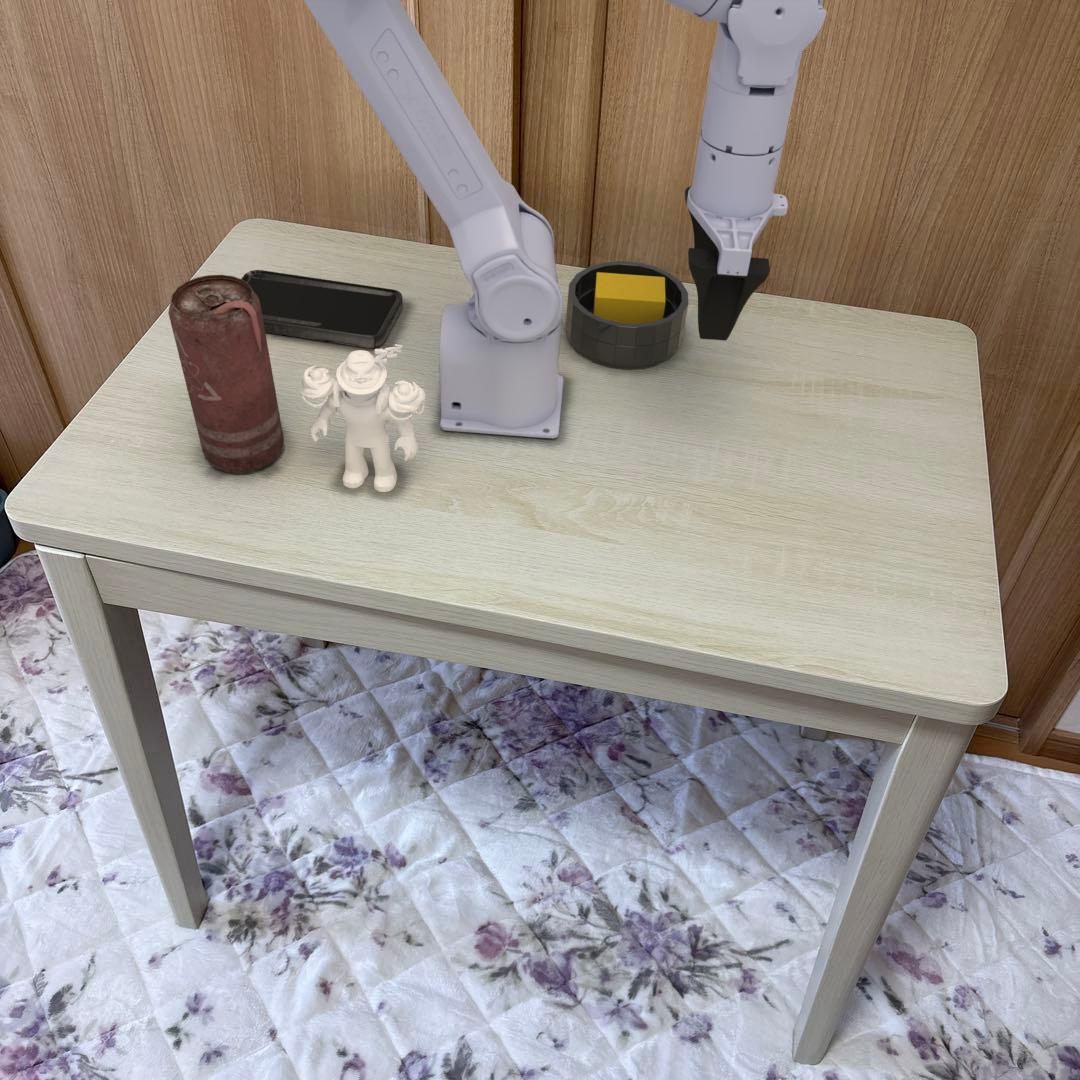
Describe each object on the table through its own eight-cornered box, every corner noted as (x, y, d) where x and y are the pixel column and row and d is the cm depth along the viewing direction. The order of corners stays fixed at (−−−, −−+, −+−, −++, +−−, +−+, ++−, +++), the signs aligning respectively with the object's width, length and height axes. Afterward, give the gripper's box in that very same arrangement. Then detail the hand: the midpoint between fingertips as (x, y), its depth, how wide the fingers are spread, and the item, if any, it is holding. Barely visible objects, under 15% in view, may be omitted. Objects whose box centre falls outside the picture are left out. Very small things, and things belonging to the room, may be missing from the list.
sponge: (591, 341, 93) (595, 296, 90) (592, 315, 96) (596, 271, 93) (659, 345, 93) (665, 301, 90) (658, 320, 96) (665, 276, 92)
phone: (249, 268, 98) (405, 290, 96) (251, 278, 99) (406, 301, 97) (214, 314, 92) (379, 339, 91) (216, 325, 93) (380, 350, 91)
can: (270, 483, 79) (240, 326, 69) (191, 469, 80) (149, 312, 70) (299, 433, 84) (274, 278, 74) (223, 420, 84) (189, 265, 74)
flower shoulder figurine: (434, 471, 81) (428, 340, 73) (420, 505, 78) (412, 373, 70) (322, 452, 82) (303, 321, 74) (304, 485, 79) (282, 353, 71)
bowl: (562, 366, 91) (565, 322, 88) (568, 300, 98) (571, 257, 95) (682, 375, 91) (690, 331, 88) (680, 308, 98) (686, 265, 95)
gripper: (812, 192, 67) (770, 368, 76) (790, 96, 77) (756, 262, 86) (700, 184, 67) (673, 360, 76) (693, 90, 77) (669, 256, 87)
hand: (710, 308), depth 81 cm, fingers open, 7 cm apart
